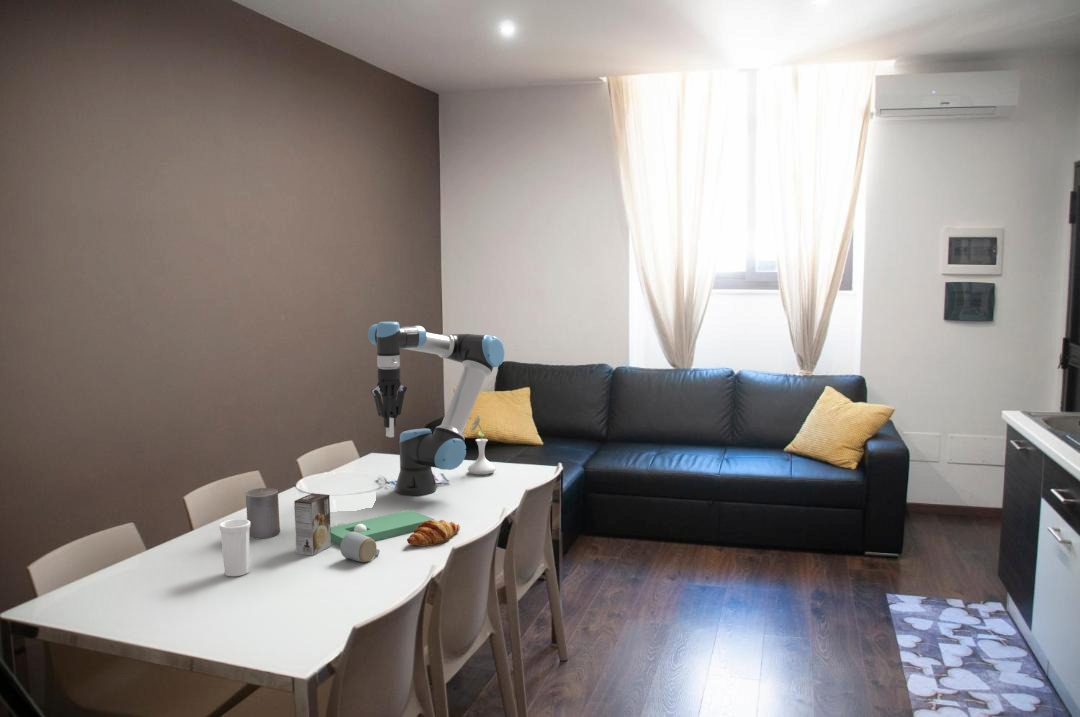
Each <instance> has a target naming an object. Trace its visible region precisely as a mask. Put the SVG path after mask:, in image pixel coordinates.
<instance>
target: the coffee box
mask: <svg viewBox="0 0 1080 717" xmlns="http://www.w3.org/2000/svg"><path fill="white" fill-rule="evenodd" d="M293 501H294V525H295V526H294V528H295V551H296V552H295V553H296V554H300V555H307V556H315V555H317V554H319V553H321V552H323V551H324V550H326V549H328V548H330V547H332V541H331V527H332V526H331V507H330V506H331V505H330V494H324V493H313V492H312V493H310V494H307V495H305V496H302V497H300V498H298V499H295V500H293Z"/></svg>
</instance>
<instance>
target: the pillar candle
mask: <svg viewBox="0 0 1080 717" xmlns="http://www.w3.org/2000/svg"><path fill="white" fill-rule="evenodd" d="M245 504H246V520H249V521H250V522H251V523H250V528H249V539H250V538H251V539H256V540H257V539H270V538H273V537H276V536H278V535H279V534H280V532H281V525H280V507H279V505H280V504H279V491H278V489H276V488H272V487H261V488H260V487H259V488H254V489H251V490H248V491H247V492H246V493H245Z"/></svg>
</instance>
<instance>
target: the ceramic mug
mask: <svg viewBox="0 0 1080 717" xmlns="http://www.w3.org/2000/svg"><path fill="white" fill-rule="evenodd" d="M376 542H377V541H374V540H373V539H372V538H370V537H368V536H364V535H362V534H359V533H357V532H349V533H347V534H346V535H345V536H344V538H343V540H342V542H341V545H340V553H341V556H343V558H346V559H348V560H353V561H356V562H360V563H369V562H370V561H371V560H373V558H374V557H375V556H379V555H380V549H378V548H377V547H378V546H377V543H376Z"/></svg>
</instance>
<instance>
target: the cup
mask: <svg viewBox="0 0 1080 717" xmlns="http://www.w3.org/2000/svg"><path fill="white" fill-rule="evenodd" d="M250 523H251V522H250V521H249V520H247V518H246V519H245V518H233V519H228V520H225V521H224V520H223V522H220V523H219V526H218V527H219V531H220V537H221V547H222V559H223V569H224V575H225V576H228V577H240V576H244V575H246V574H248V573H249V572H250V537H249V528H250Z"/></svg>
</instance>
